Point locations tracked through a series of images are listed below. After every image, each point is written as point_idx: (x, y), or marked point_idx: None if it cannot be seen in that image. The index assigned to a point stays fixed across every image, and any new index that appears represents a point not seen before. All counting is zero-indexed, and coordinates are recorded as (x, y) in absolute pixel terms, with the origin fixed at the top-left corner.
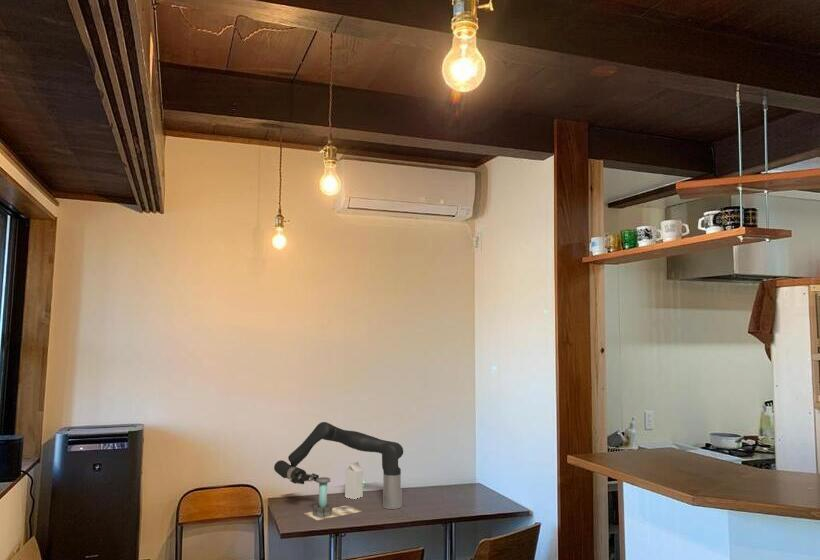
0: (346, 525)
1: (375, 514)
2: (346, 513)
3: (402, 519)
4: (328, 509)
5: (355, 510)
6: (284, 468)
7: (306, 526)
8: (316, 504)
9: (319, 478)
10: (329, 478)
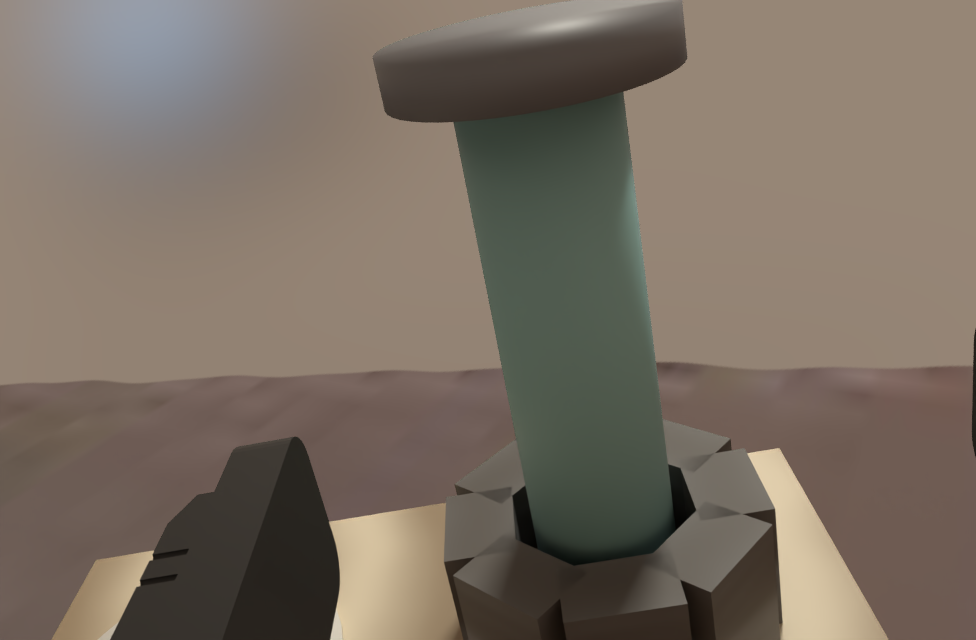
0: None
1: (20, 548)
2: None
3: (32, 402)
4: None
5: (118, 609)
6: None
7: (935, 438)
8: (669, 603)
9: (582, 28)
10: (397, 45)
